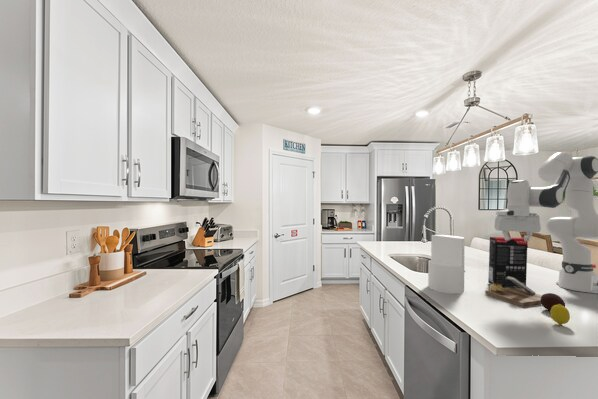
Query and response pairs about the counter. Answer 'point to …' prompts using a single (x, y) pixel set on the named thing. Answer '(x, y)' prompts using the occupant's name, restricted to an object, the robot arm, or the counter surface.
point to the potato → (551, 300)
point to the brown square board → (516, 297)
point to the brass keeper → (497, 287)
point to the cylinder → (446, 264)
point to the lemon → (560, 314)
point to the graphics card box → (507, 261)
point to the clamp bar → (521, 285)
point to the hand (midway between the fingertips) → (517, 240)
